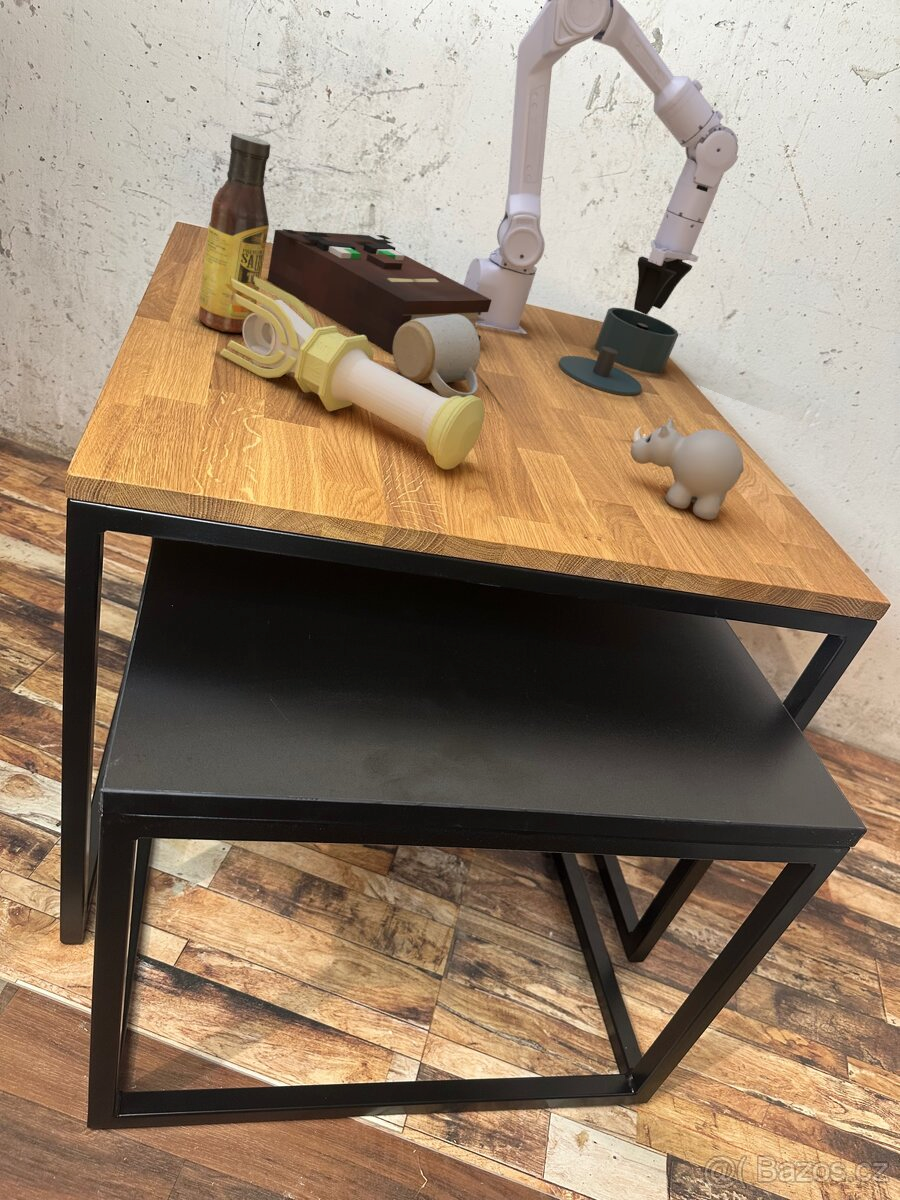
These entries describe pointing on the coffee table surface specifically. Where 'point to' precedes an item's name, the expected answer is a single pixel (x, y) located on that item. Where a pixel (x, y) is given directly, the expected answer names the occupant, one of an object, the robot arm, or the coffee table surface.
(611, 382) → the lid
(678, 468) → the chubby cartoon animal
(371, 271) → the dark brown wooden box
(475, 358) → the ceramic mug
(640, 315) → the bowl
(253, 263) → the sauce bottle
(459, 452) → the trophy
